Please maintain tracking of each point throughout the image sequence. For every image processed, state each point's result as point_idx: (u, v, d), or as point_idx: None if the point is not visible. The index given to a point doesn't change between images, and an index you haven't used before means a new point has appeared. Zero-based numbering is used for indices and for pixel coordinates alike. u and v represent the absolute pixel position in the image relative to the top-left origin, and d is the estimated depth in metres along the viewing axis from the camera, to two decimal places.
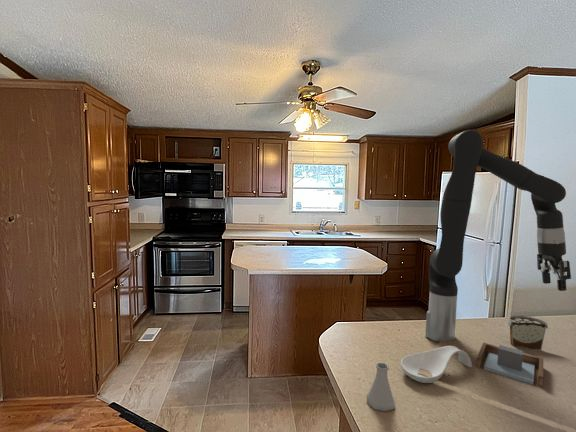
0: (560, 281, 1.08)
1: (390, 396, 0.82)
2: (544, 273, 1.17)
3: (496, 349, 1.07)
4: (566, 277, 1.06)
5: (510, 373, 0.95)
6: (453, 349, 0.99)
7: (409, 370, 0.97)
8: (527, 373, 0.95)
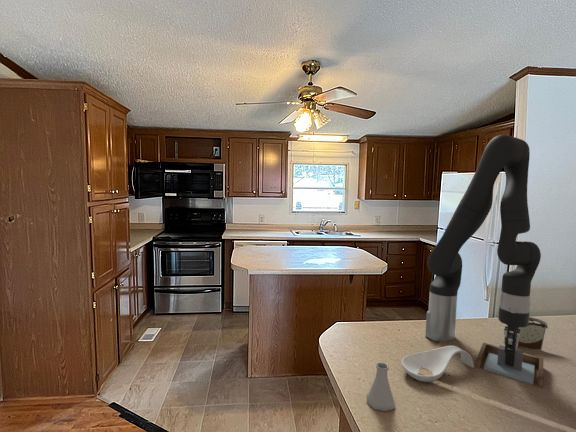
0: (507, 354, 0.97)
1: (390, 396, 0.82)
2: None
3: (496, 349, 1.07)
4: (509, 352, 0.95)
5: (510, 373, 0.95)
6: (455, 349, 0.99)
7: (410, 369, 0.98)
8: (527, 373, 0.95)
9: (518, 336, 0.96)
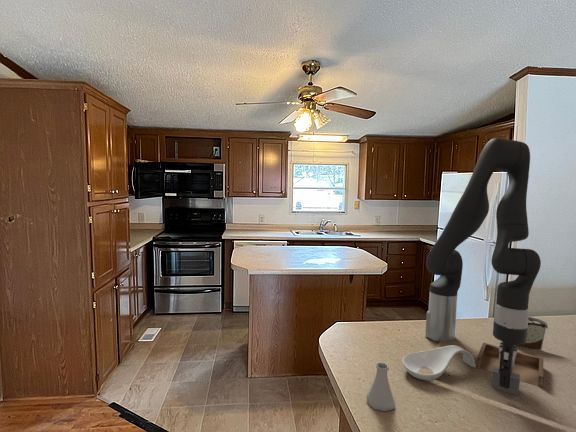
0: (501, 375, 0.85)
1: (390, 396, 0.82)
2: None
3: (496, 349, 1.07)
4: (504, 372, 0.83)
5: None
6: (456, 348, 1.00)
7: (410, 367, 0.98)
8: None
9: (515, 353, 0.85)
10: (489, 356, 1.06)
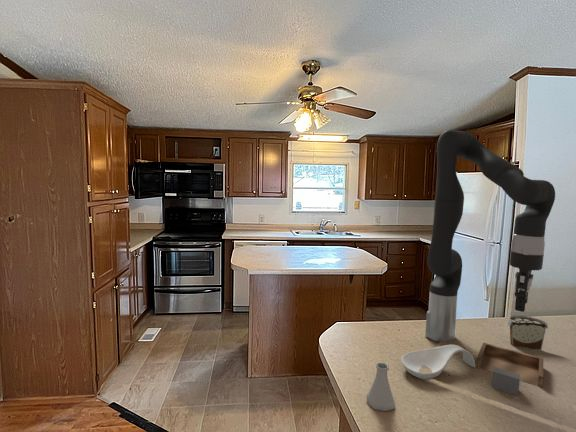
0: (517, 299, 0.90)
1: (390, 396, 0.82)
2: (521, 290, 0.97)
3: (496, 349, 1.07)
4: (520, 295, 0.88)
5: None
6: (456, 348, 1.00)
7: (409, 366, 0.99)
8: None
9: (531, 279, 0.90)
10: (489, 356, 1.06)
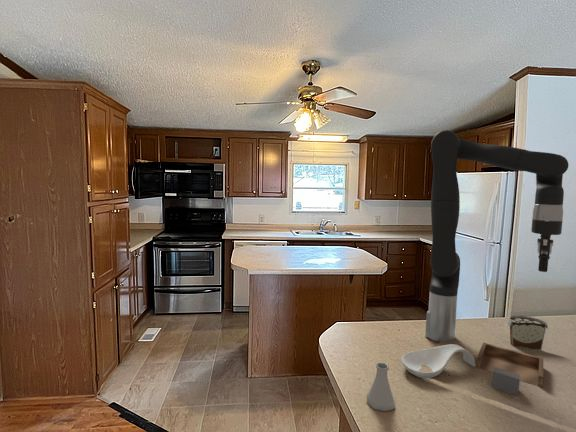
0: (540, 261, 1.01)
1: (390, 396, 0.82)
2: None
3: (496, 349, 1.07)
4: (544, 256, 0.99)
5: None
6: (456, 347, 1.00)
7: (410, 365, 1.00)
8: None
9: (551, 243, 1.01)
10: (489, 356, 1.06)
